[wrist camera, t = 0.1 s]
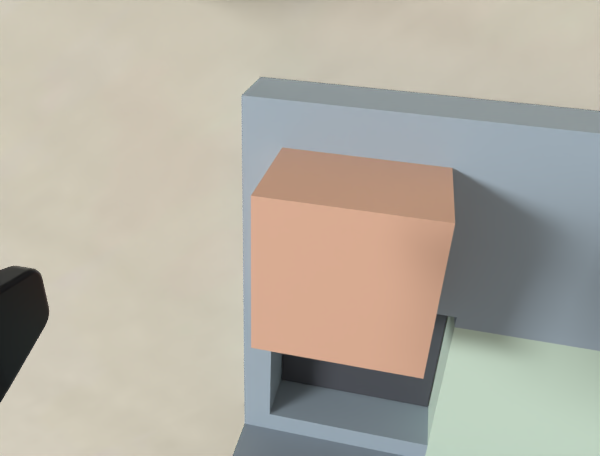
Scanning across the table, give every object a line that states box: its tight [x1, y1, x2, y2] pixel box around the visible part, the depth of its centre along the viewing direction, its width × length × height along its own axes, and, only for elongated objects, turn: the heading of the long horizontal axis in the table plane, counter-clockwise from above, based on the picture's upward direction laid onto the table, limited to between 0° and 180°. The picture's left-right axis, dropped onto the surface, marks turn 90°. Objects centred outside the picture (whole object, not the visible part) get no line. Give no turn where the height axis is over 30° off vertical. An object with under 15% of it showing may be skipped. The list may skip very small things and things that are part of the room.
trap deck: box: [233, 77, 600, 456], centre depth 22 cm, size 18×26×4 cm, turn 88°
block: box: [251, 147, 455, 379], centre depth 20 cm, size 6×6×4 cm
